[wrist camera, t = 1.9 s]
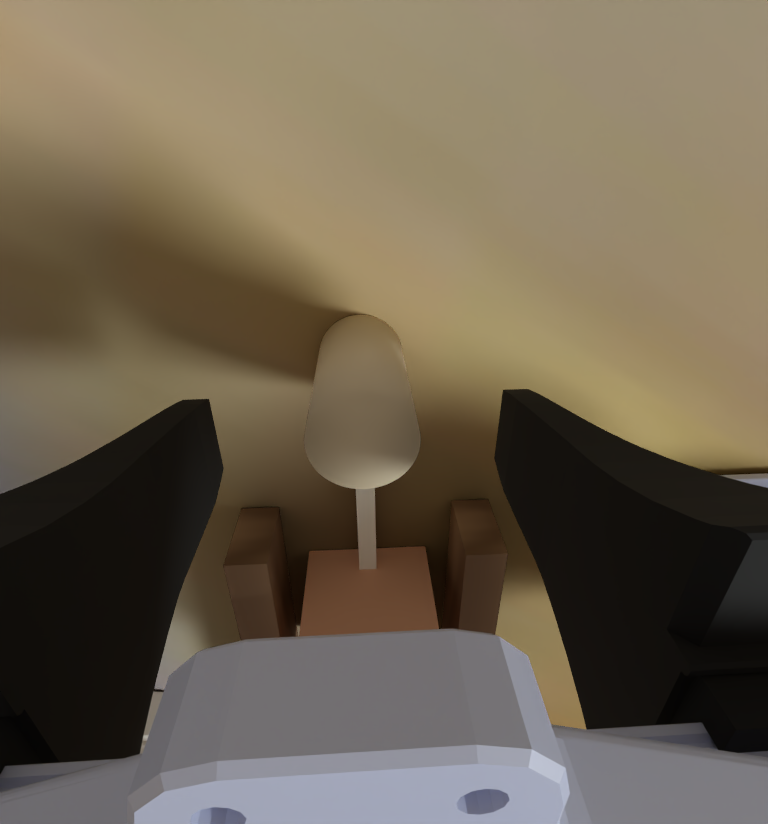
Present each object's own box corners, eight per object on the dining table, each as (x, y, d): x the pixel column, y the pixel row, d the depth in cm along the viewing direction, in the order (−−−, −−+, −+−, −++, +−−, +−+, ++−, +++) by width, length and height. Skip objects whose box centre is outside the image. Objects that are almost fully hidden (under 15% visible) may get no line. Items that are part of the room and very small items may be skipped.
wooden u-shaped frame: (487, 499, 20) (508, 553, 17) (468, 652, 25) (482, 713, 22) (241, 508, 19) (223, 565, 17) (271, 662, 24) (261, 725, 22)
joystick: (435, 312, 16) (475, 397, 11) (421, 622, 23) (440, 761, 18) (282, 316, 16) (244, 404, 10) (318, 626, 23) (306, 768, 18)
